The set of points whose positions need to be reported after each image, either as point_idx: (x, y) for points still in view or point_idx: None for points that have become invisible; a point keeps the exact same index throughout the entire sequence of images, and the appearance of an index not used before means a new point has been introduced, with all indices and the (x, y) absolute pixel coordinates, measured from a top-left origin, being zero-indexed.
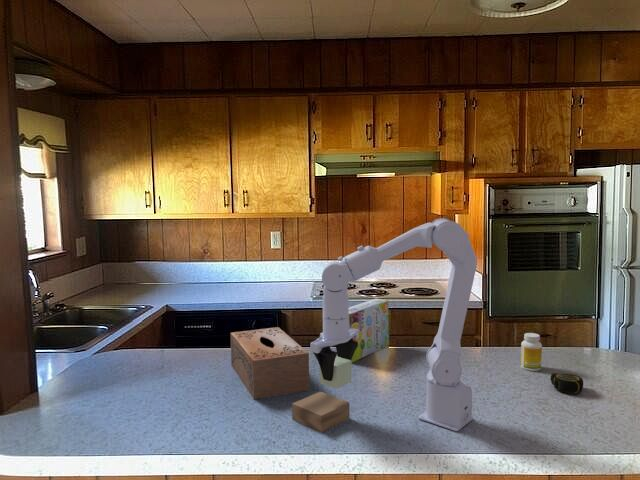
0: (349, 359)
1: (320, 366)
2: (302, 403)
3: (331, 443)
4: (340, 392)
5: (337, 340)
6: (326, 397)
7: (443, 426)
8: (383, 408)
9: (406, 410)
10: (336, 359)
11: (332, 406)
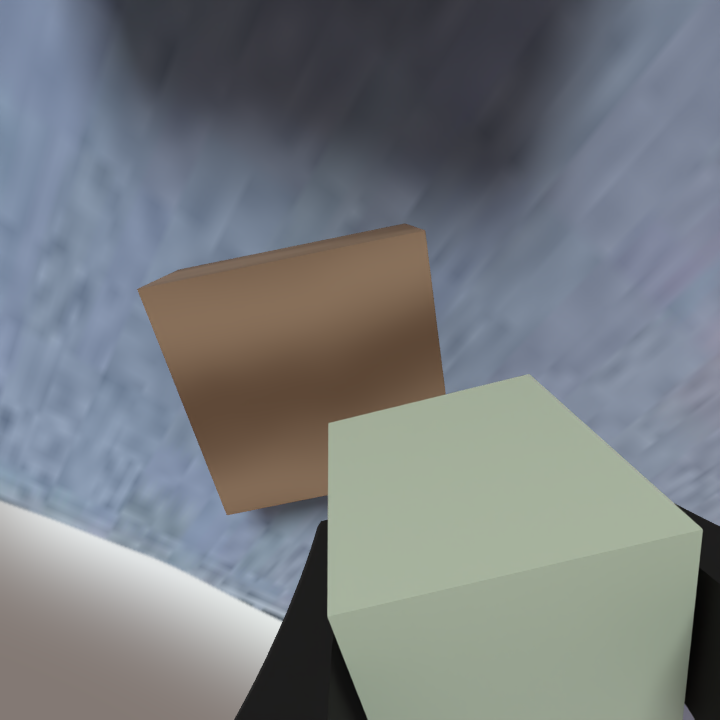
0: (698, 710)
1: (276, 650)
2: (205, 330)
3: (235, 539)
4: (644, 116)
5: None
6: (395, 341)
7: None
8: (624, 427)
9: (670, 490)
10: (578, 660)
11: None
